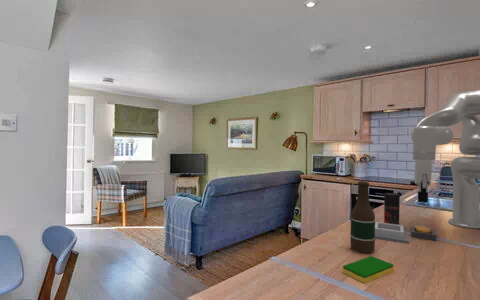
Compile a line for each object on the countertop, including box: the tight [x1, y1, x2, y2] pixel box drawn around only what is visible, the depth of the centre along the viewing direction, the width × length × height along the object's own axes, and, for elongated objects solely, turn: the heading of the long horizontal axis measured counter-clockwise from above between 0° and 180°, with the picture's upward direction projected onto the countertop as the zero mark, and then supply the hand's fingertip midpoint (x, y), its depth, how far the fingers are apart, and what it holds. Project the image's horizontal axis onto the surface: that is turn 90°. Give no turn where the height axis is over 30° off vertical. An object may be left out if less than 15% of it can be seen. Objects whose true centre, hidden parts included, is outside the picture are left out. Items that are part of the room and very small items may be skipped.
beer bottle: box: [350, 180, 376, 255], centre depth 93 cm, size 8×8×24 cm
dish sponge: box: [342, 255, 395, 284], centre depth 77 cm, size 7×14×2 cm, turn 121°
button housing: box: [409, 226, 437, 242], centre depth 108 cm, size 8×8×2 cm
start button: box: [415, 225, 431, 233], centre depth 108 cm, size 5×5×2 cm
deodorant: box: [383, 192, 401, 225], centre depth 119 cm, size 6×6×15 cm
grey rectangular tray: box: [375, 221, 410, 245], centre depth 108 cm, size 14×13×4 cm
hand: (422, 201), depth 107 cm, fingers closed
